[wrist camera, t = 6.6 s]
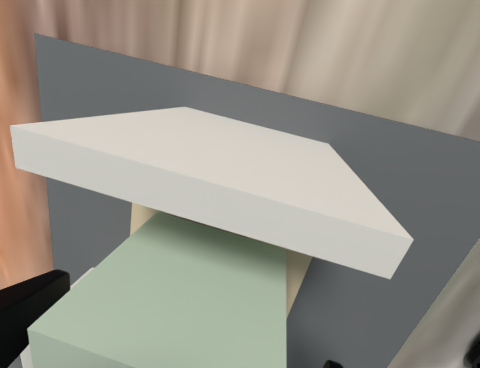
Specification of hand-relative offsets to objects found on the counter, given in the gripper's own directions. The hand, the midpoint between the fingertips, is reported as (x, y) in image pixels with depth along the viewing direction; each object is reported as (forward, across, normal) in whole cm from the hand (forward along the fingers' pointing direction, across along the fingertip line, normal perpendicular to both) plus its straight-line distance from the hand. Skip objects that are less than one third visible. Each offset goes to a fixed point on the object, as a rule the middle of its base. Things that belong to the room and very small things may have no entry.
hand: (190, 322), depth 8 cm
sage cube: (+2, 0, 0) cm, 2 cm away
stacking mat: (+7, 0, +2) cm, 7 cm away
